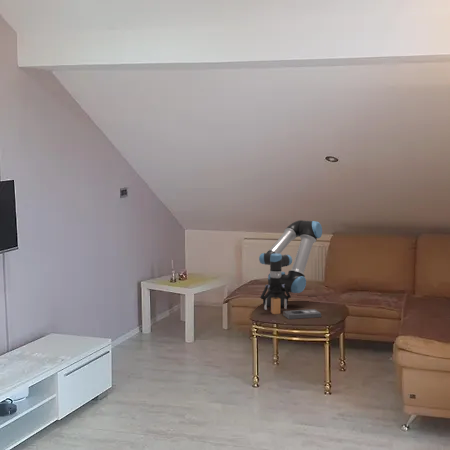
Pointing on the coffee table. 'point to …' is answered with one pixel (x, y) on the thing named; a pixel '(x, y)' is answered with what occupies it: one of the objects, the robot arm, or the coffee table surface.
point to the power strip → (301, 314)
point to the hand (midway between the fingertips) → (275, 309)
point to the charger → (275, 305)
